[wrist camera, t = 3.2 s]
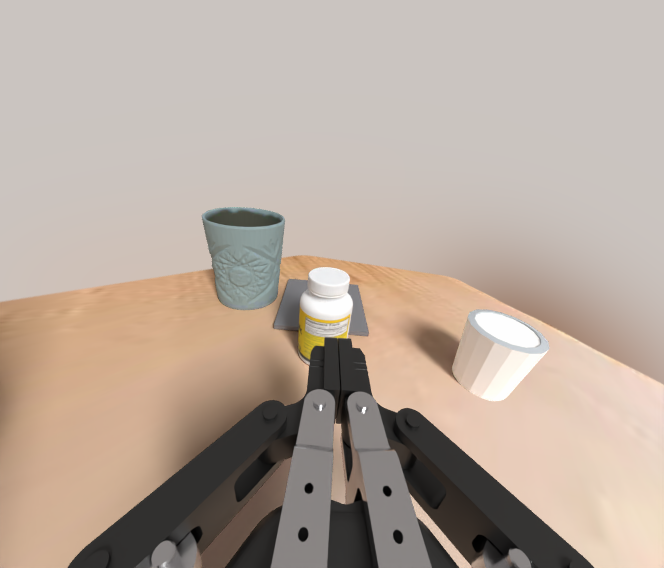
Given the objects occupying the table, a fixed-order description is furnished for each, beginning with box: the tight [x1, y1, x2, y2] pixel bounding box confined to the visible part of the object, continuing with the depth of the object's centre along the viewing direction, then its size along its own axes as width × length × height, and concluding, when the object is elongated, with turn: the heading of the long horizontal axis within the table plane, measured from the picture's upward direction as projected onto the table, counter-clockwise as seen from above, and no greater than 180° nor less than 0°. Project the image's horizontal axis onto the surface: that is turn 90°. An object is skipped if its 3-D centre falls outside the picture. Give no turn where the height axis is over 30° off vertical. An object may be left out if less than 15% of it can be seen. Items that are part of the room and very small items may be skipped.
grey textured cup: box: [202, 207, 285, 310], centre depth 34 cm, size 10×10×12 cm
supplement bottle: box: [298, 267, 353, 365], centre depth 25 cm, size 5×5×10 cm
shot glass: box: [452, 310, 549, 401], centre depth 25 cm, size 7×7×7 cm
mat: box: [274, 279, 369, 336], centre depth 36 cm, size 13×12×1 cm
